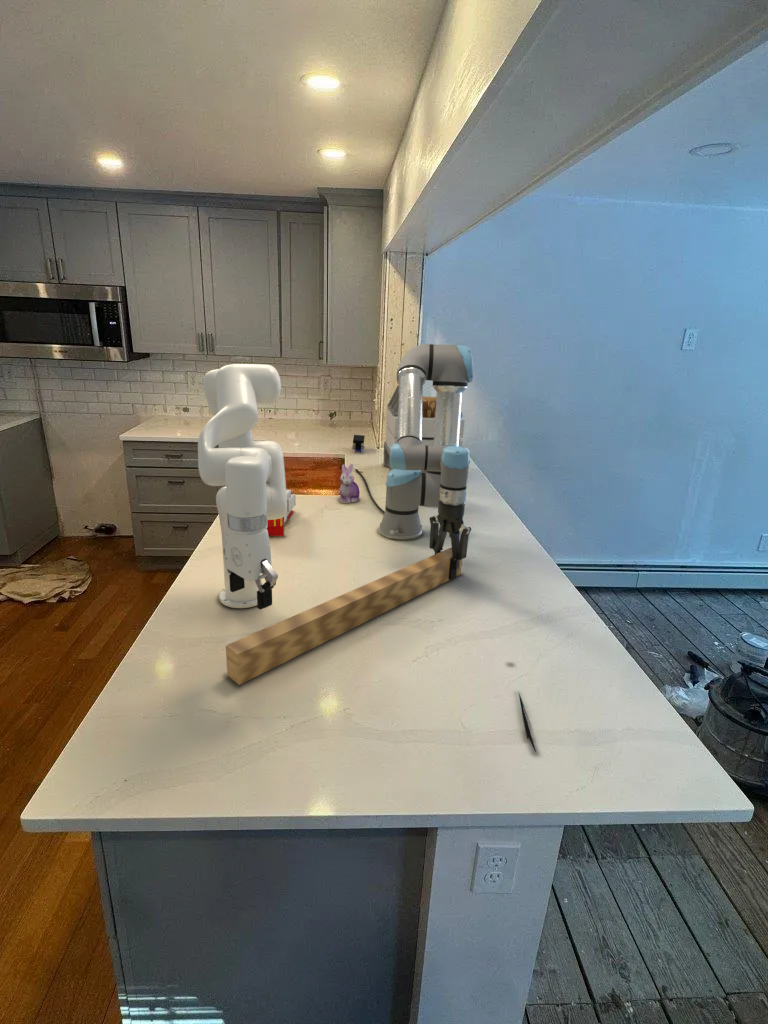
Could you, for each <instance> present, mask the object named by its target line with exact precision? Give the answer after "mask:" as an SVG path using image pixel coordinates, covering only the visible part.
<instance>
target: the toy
mask: <svg viewBox="0 0 768 1024" xmlns="http://www.w3.org/2000/svg"><path fill="white" fill-rule="evenodd" d="M286 493H287V512H286V514H285V516H284V517H282V518H280V519H273V520H267V531H268V536H269V537H285V522H286V521H287V520H289V519H290V518H291V516H292V515H293V513H294V510H293V509H294V507H296V505H297V499H296V495H297V494H296V493H293V494H292V490H291V489H286Z"/></svg>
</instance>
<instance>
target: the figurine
mask: <svg viewBox="0 0 768 1024" xmlns="http://www.w3.org/2000/svg"><path fill="white" fill-rule="evenodd" d="M353 469H354V464H353V463H351V464H350V465H348V467H347V466H346V464H342V465H341V471H342V472H341V475H340V477H339V481H340V483H341V484H340V487H339V497H338V498H339V502H340V503H342V504H351V503H356V502H358V501H359V499H360V495H361V494H360V492H361V491H360V487H359V485H358V484H357V482H355V481H354V480H355V477H354V475H353V473H352V472H353Z"/></svg>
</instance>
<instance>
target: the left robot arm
mask: <svg viewBox="0 0 768 1024" xmlns="http://www.w3.org/2000/svg"><path fill="white" fill-rule="evenodd" d="M202 383H203V390H204V395H205V399H206V402H207V404H208V407H209V409H210V411H211V413H212V417H211V418H210V419H209V420H208V421H207V422H206V424H205V425H204V426H203V428H202V429H201V431H200V432H199V436H198V439H197V466H198V473H199V477H200V479H201V481H202V482H203V483H204V484H205V485H207V486H210V487H220V489H218V491H216V492H217V493H216V495H215V504H216V510H217V514H218V518H219V525H220V534H221V544H222V547H221V548H222V561H223V563H222V564H223V578H224V579H223V580H224V588H223V589H222V590H220V592H219V595H218V598H219V601H220V603H221V604H222V605H223V606H226V607H228V608H231V609H248V608H253V607H256V606H257V607H256V608H257V609H258V610H264V609H266V608H268V607H271V606H272V605H273V589H275V586H276V584H277V581H278V578H279V575H278V573H277V572H276V570H275V569H274V568H273V567H272V552H271V542H270V536H268V531H267V520H273V519H280V518H282V517H284V516H285V514H286V512H287V493H286V490H287V482H286V481H287V480H286V470H285V458H284V453H283V450H282V448H281V445H280V444H279V443H278V442H276V441H272V440H254V439H253V438H254V437H253V430H252V429H254V427H255V426H256V425H257V423H258V420H259V412H258V411H259V410H258V405H259V404H261V405H264V404H265V405H267V404H274V403H276V402H277V401H278V400H279V399H280V396H281V393H282V381H281V376H280V374H279V372H278V370H277V369H276V368H275V367H274V366H273V365H271V364H261V363H260V364H259V363H232V364H226V365H224V366H222V367H221V368H217V369H212V370H209V371H207V372H206V373H205V375H204V377H203V381H202ZM217 446H218V447H217ZM263 579H264V580H265V582H264V583H262V580H263Z"/></svg>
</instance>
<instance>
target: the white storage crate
mask: <svg viewBox="0 0 768 1024" xmlns="http://www.w3.org/2000/svg"><path fill="white" fill-rule="evenodd" d="M398 404H399V384H398V385H397V386H396V388H395V390H394V392H393V394H392V395H391V398H390V400H389V402H388V404H387V405H386V413H385V414H386V415H385V423H386V428H385V438H384V442H383V466H384V467H388V468H389V472H390V471H391V470H393V469H392V468H391V467H390V446H391V445H392V444H396V443H397V428H398ZM435 411H436V396H423V402H422V445H428V446H433V442H434V427H435ZM464 429H465V419H464V418H463V411H461V419H460V433H459V446H460V447H463V442H464V441H463V440H462V439H463V438H464V431H465V430H464Z"/></svg>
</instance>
